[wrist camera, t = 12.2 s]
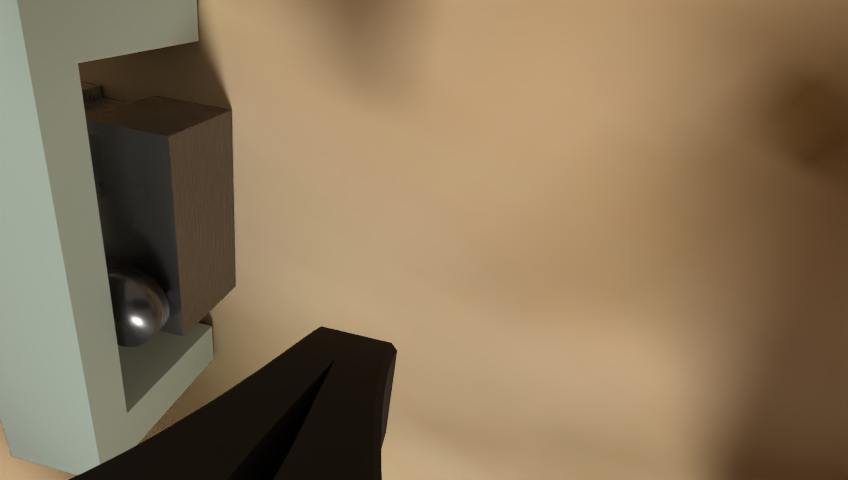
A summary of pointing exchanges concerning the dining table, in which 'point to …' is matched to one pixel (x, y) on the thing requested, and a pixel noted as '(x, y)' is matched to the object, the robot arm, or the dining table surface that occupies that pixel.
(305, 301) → the dining table surface
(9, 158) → the pale green notched block
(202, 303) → the tong base
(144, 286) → the tong arm
